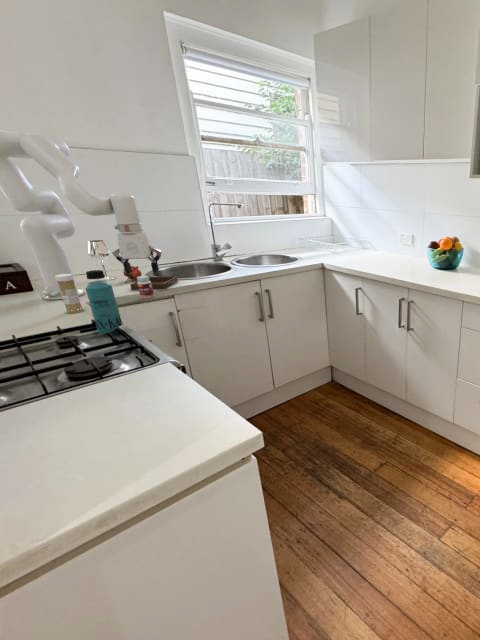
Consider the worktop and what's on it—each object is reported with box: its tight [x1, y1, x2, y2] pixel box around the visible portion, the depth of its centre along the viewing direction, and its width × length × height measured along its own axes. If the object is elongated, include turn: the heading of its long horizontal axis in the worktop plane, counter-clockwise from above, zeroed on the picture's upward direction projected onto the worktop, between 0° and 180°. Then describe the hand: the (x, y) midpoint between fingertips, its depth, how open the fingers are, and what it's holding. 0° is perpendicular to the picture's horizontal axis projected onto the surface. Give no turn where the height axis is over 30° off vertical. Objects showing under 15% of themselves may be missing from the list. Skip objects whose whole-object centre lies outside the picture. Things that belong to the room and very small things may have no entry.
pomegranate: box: [122, 265, 143, 283], centre depth 181 cm, size 7×7×10 cm
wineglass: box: [87, 239, 116, 281], centre depth 181 cm, size 8×8×18 cm
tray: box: [129, 276, 179, 291], centre depth 174 cm, size 15×13×2 cm
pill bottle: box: [136, 275, 155, 299], centre depth 155 cm, size 5×5×8 cm
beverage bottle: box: [84, 269, 124, 334], centre depth 114 cm, size 6×7×20 cm
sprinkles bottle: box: [55, 274, 84, 314], centre depth 135 cm, size 5×5×13 cm
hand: (142, 272), depth 153 cm, fingers open, 9 cm apart
